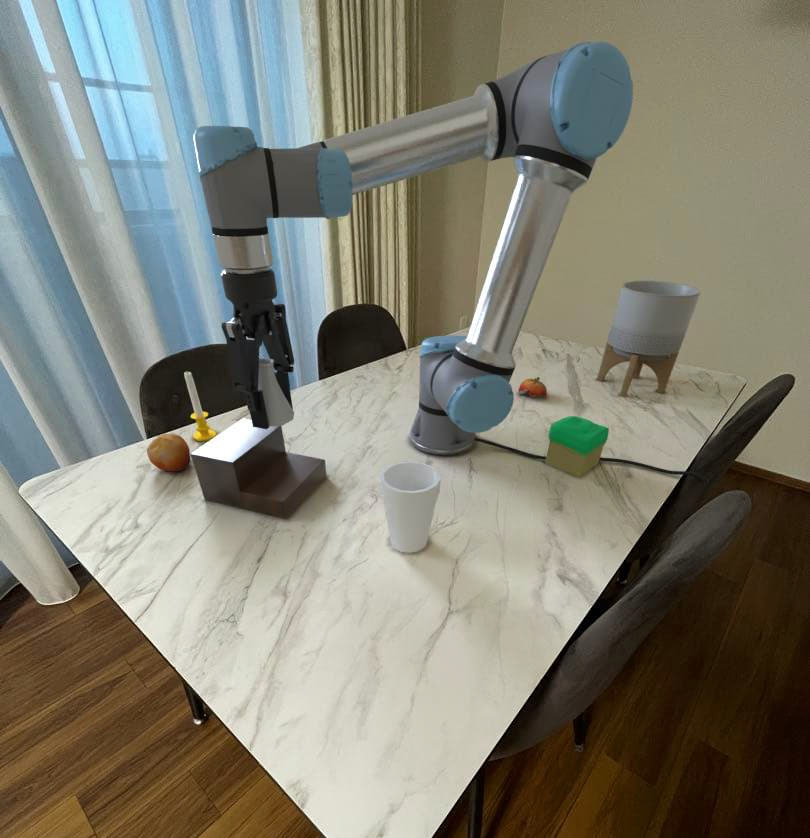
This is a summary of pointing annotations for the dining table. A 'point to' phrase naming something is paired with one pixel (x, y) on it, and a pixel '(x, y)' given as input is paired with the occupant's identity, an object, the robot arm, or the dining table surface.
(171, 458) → the fruit
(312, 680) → the dining table surface
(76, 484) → the dining table surface
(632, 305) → the planter
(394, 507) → the foam cup
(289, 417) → the flask
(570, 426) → the cake
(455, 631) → the dining table surface
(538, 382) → the tomato
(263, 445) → the spice riser
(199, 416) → the candle
